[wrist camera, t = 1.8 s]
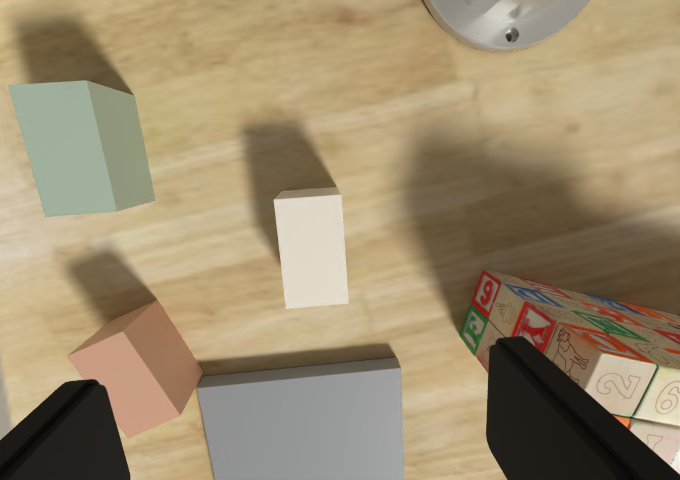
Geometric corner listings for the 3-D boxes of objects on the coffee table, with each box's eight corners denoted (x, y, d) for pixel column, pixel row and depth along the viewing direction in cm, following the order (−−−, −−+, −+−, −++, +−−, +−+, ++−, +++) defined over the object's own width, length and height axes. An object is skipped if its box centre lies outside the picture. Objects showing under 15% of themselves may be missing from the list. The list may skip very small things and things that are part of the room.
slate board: (202, 376, 28) (196, 388, 27) (396, 357, 29) (400, 367, 28) (228, 509, 32) (224, 526, 30) (400, 489, 32) (404, 505, 31)
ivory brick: (282, 190, 25) (273, 199, 20) (336, 186, 25) (341, 194, 21) (291, 280, 27) (286, 308, 22) (343, 276, 27) (348, 303, 22)
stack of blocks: (706, 319, 30) (960, 427, 18) (673, 381, 32) (890, 518, 20) (481, 267, 28) (605, 353, 16) (456, 337, 29) (553, 464, 17)
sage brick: (73, 99, 23) (8, 85, 18) (135, 95, 23) (86, 80, 18) (99, 204, 25) (45, 216, 20) (156, 200, 25) (116, 211, 20)
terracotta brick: (112, 319, 27) (66, 356, 22) (158, 299, 27) (122, 331, 22) (160, 389, 28) (128, 438, 24) (203, 370, 28) (180, 415, 23)
